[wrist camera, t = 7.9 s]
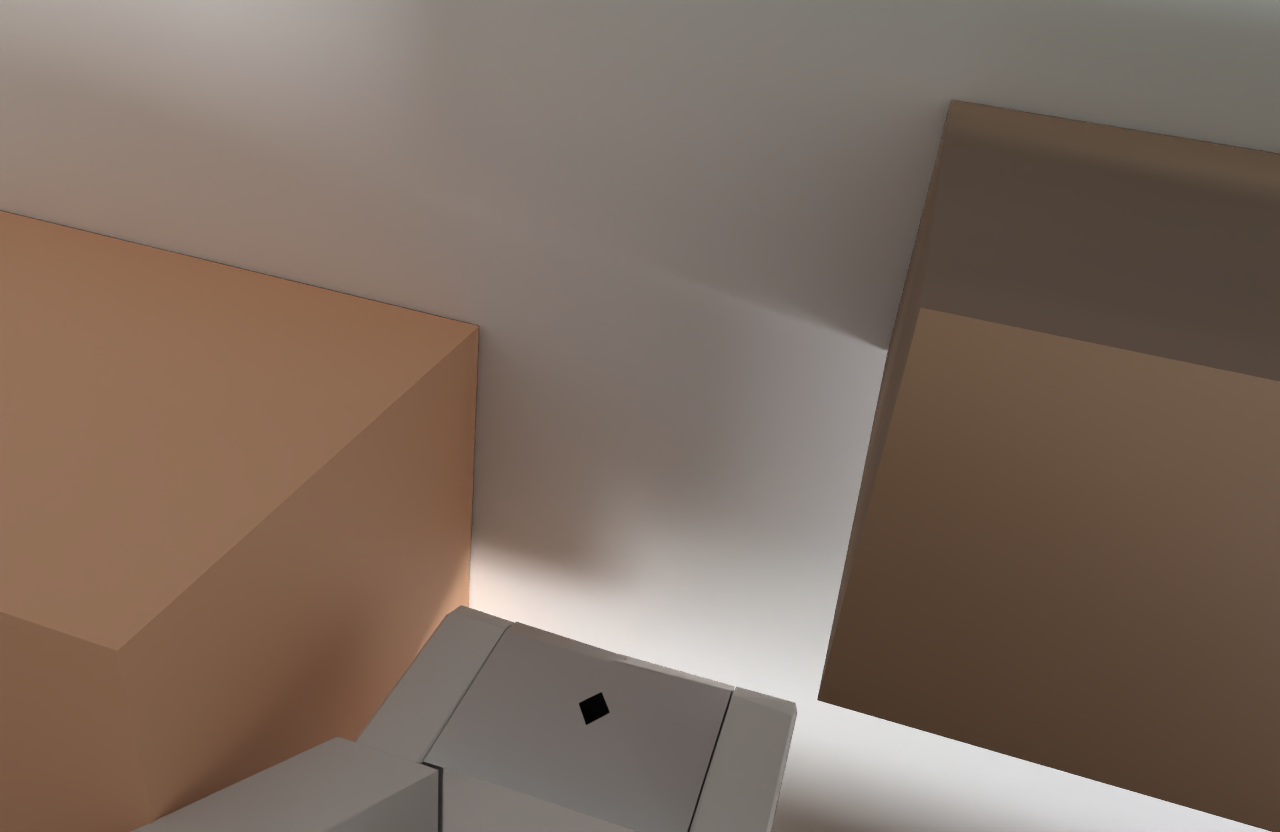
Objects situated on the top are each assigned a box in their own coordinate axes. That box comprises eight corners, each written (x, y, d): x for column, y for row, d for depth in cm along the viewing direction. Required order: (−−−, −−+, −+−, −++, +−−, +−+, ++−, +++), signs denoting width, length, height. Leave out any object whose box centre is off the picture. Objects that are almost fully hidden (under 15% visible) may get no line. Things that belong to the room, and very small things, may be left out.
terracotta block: (463, 719, 12) (211, 1131, 8) (28, 578, 13) (-376, 876, 9) (478, 326, 9) (118, 652, 5) (-65, 195, 10) (-680, 384, 6)
